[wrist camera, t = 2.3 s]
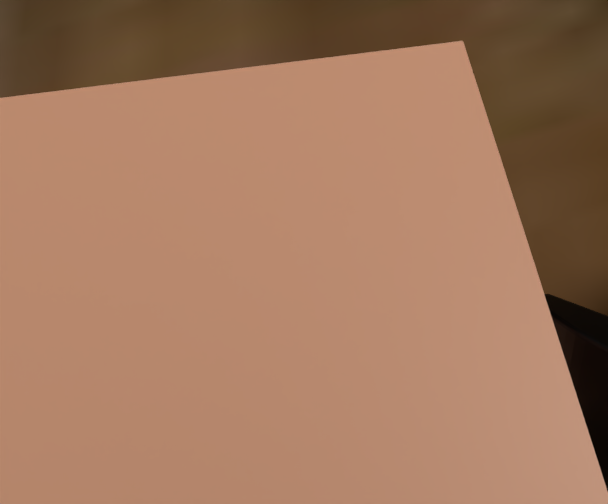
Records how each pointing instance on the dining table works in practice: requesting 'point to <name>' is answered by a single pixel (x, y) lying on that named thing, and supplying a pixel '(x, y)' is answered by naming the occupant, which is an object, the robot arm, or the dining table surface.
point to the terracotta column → (276, 295)
